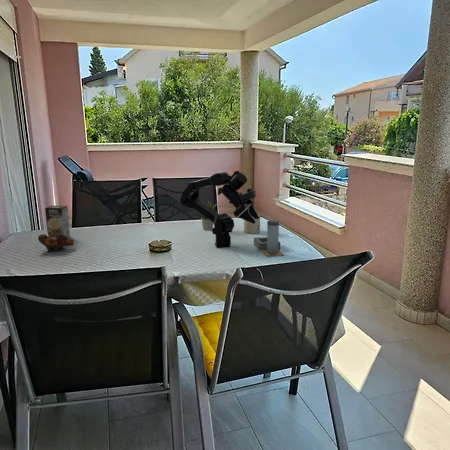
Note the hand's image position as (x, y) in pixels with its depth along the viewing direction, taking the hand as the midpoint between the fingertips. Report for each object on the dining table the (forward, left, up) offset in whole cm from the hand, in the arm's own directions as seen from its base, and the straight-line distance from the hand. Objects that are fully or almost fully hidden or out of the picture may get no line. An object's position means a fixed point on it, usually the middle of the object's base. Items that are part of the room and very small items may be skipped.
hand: (256, 220), depth 176 cm
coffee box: (-94, +39, -14) cm, 103 cm away
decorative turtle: (-90, +17, -14) cm, 93 cm away
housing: (+6, +3, -14) cm, 15 cm away
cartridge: (+6, -7, -13) cm, 16 cm away
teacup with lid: (+6, +33, -14) cm, 36 cm away
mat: (+6, -7, -14) cm, 16 cm away
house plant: (-18, +42, -14) cm, 48 cm away
